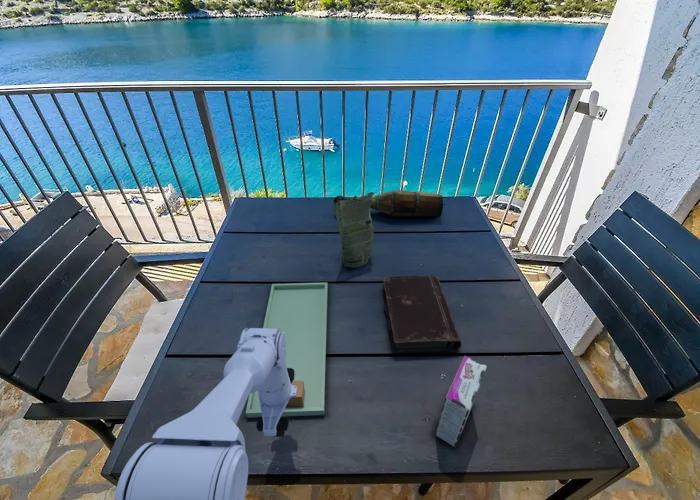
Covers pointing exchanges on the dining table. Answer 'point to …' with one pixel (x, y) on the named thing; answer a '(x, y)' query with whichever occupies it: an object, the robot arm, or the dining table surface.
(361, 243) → the pouch
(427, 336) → the diary
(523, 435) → the dining table surface
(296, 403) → the block
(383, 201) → the decorative bottle
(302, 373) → the tray
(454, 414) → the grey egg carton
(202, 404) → the robot arm
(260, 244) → the dining table surface
